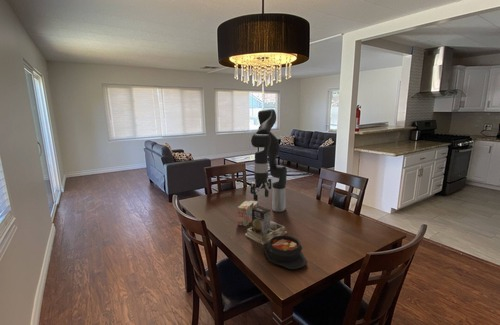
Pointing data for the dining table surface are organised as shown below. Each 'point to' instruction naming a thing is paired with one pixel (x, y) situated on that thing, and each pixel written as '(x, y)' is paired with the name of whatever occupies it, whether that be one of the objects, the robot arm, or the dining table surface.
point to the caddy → (274, 231)
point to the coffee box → (261, 220)
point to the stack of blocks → (246, 212)
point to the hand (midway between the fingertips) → (261, 198)
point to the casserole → (285, 252)
